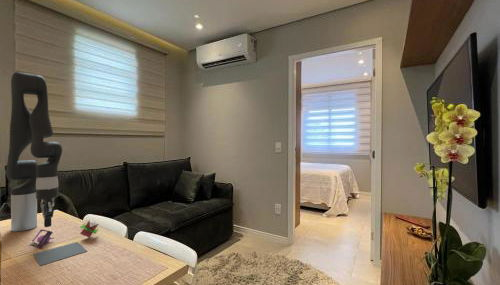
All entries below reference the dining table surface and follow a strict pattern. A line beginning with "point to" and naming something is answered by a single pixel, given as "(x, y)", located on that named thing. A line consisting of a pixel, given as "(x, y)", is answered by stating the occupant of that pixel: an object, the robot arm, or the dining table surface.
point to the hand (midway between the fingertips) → (47, 226)
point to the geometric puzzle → (89, 228)
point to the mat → (59, 253)
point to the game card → (42, 239)
